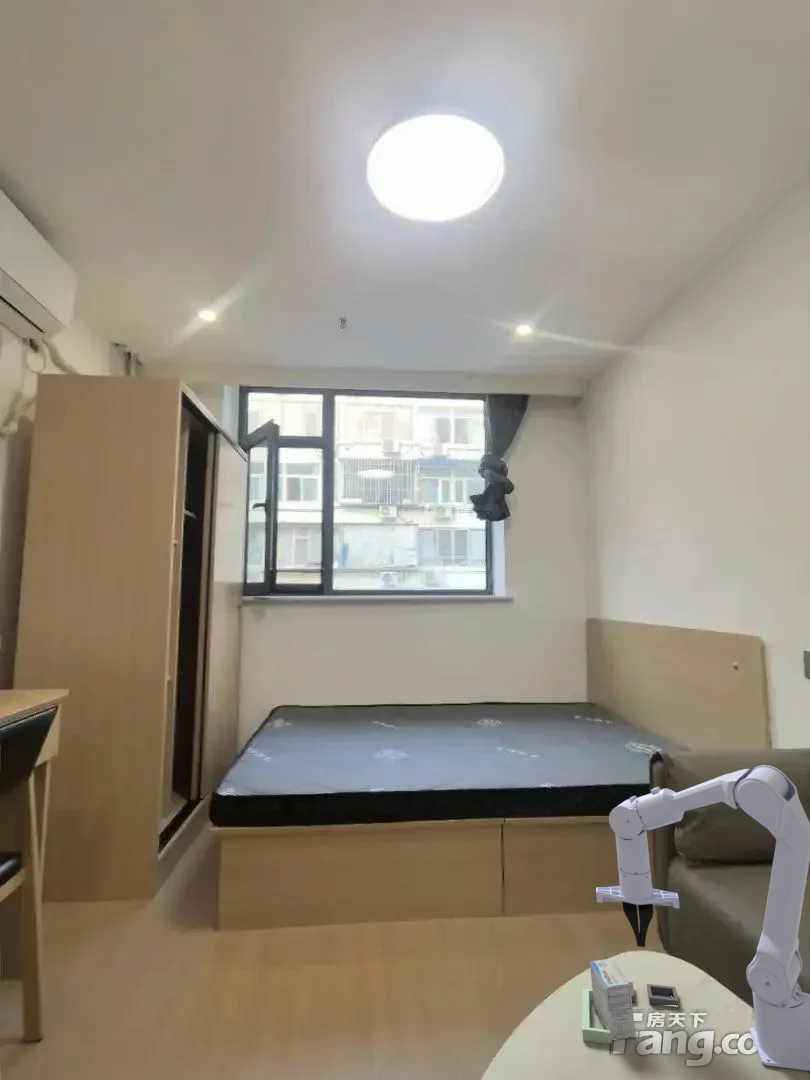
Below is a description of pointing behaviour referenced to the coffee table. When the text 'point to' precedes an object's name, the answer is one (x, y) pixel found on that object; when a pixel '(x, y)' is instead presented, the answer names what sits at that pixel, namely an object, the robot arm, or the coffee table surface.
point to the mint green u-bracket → (588, 1032)
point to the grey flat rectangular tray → (662, 995)
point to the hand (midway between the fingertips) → (640, 943)
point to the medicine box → (612, 999)
